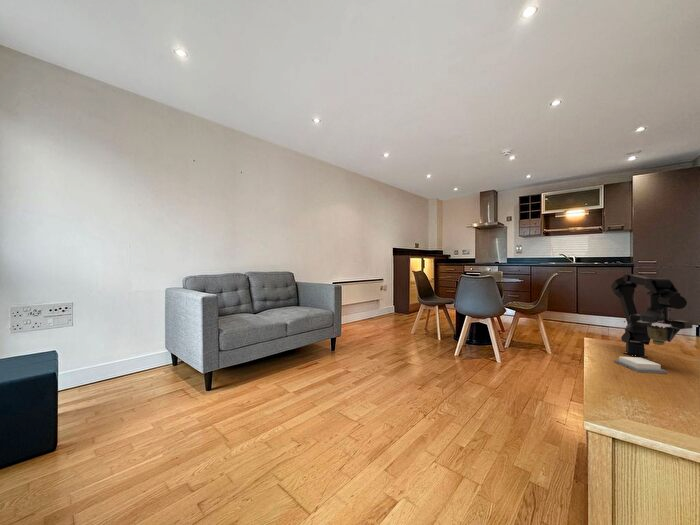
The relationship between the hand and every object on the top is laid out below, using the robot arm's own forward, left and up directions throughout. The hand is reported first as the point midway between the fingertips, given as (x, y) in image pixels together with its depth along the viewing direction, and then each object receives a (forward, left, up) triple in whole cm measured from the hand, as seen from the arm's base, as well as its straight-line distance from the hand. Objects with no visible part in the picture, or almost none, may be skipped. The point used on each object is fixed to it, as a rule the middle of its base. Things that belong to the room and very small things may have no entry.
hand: (658, 339), depth 123 cm
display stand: (+4, -12, -12) cm, 17 cm away
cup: (0, 0, -2) cm, 2 cm away
